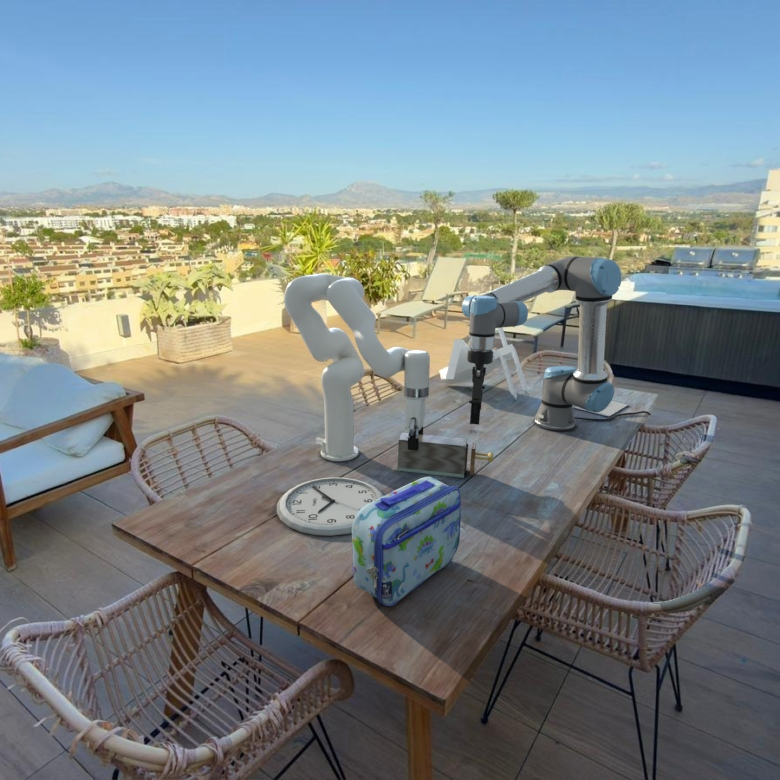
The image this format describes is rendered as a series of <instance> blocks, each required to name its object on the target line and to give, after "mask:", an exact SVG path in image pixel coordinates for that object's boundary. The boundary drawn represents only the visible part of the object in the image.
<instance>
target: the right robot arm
mask: <svg viewBox="0 0 780 780" xmlns="http://www.w3.org/2000/svg"><path fill="white" fill-rule="evenodd" d="M621 284H622V271H621V268H620V266H619V264H618V263H617V262H616V261H615V260H613V259H610V258H604V257H596V256H595V257H592V256H578V255H577V256H576V255H573V256H568V257H564V258H561V259H557V260H555V261H552V262H550V263H547V264H545V265H543V266H540V267H539V269H538V270H537V271H536V272H533V273H531V274H529V275H526V276H524V277H521V278H519V279H517V280H515V281H512V282H509V283H508V284H505V285H503V286H501V287H498V288H496V289H493V290H491V291H489V292H486V293H483V294H481V295H476V294H474V295H473V294H471V295H467V296H466V297H465V298H464V299H463V301H462V304H461V313H462V314H463V316H464V317H465V318H468V319H469V329H468V330H469V331H468V337H466V341H468V343H467V345H468V347H469V348H470V349H469V350H468V355H467V360H468V362H470V363H474V364H476V365H475V367H473V369H472V375H473V377H472V382H471V383H472V392H471V393H472V395H471V399H470V400H469V402H468V404H470V417H469V424H470V425H477V426H478V425H480V419H481V418H480V417H481V410H482V403H483V402H482V401H483V390H485V385H484V383H485V377H486V376H485V372H486V367H484V364H490V363H492V361H493V350H494V349H495V337H496V329H498V328H502V327H503V328H511V327H512V328H515V327H519V326H522V325H524V324H525V323H526V322H527V320H528V318H529V317H528V315H529V310H528V307H527V305H526V304H525V303H524V302H526V301H529V300H532V299H533V298H535V297H538V296H540V295H542V294H545V293H549V294H552V293H554V292H557V291H570V292H575V301H576V302H577V303H578V304H579V319H578V320H579V321H578V323H579V324H578V345H577V346H578V348H577V349H578V351H577V353H578V354H577V367H575V366H569V365H568V366H567V365H557V366H550V367H547V368H546V369H545V371H544V375H543V378H542V379H543V381H542V392H541V402H540V405H539V407H538V410H537V411H536V413H535V416H534V424H535V425H536V426H537V427H539V428H542V429H544V430H549V431H556V432H567V431H572V430H574V429H575V428H576V420H583V421H592V422H593V421H594V422H606V421H612V420H614V419H616V418H617V417H621V416H629V415H639V414H648V416H652V414H651V413H650V412H649V411H646V410H640V411H634V412H624V413H619V414H616V415H614V416H612V417H608V418H589V417H580V416H579V417H577V416H575V413H574V407H576V406H577V407H579V408H582V409H585V410H586V411H585V412H588V411H592V412H601V411H603V410H604V409H605V408H606V407H607V406H608V405H609V404H610V402H611V401H613V398H614V396H615V387H614V385H613V383H611V382H610V381H608V377H609V375H608V372H606V370H604V365H605V350H606V349H605V348H606V331H607V330H606V329H607V328H606V326H607V312H608V311H607V310H608V304H609V302H610V301H612V300H613V296H614V295H615V294H617V292H618V291H619V290H620V288H619V287H621ZM484 376H485V377H484ZM573 406H574V407H573ZM592 412H591V413H592Z"/></svg>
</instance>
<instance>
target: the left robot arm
mask: <svg viewBox="0 0 780 780" xmlns="http://www.w3.org/2000/svg"><path fill="white" fill-rule="evenodd" d="M364 297H365V288H364V286H363V284H362V282H360V281H359V280H358V279H356V278H353V277H347V276H340V275H335V274H334V275H333V274H328V273H315V274H307V275H302V276H297V277H295V278H294V279H292V280H291V281H290V282H289V283H288V284H287V286H286V288H285V290H284V295H283V303H284V307H285V310H286V312H287V313H288V316H289V317H290V319H291V320H292V322H293V324H294V325H295V328H296V329H297V330H298V332H299V335H300V336H301V338H302V340H303V342H304V344H305V346H306V348H307V349H308V351H309V353H310V355H311V357H312V358H313V359H314V360H315V361H317V362H320V363H321V362H322V363H323V362H327V361H330V360H332V363H329V365H327V366H326V367H325V368H324V369H323V371H322V373H321V375H320V384H321V389H322V394H323V395H322V396H323V406H324V408H323V409H324V410H323V411H324V412H323V413H324V438H321V437H316V438H315V446H316V447H321V450H320V456H321V457H322V458H323V459H324V460H326V461H330V462H347V461H351V460H353V459H356V457H358V456H359V448H358V447H357V446H355V433H354V432H355V408H354V398H353V394H352V390H351V388H352V387H353V386H354V385H356V384H358V383H359V382H360V381H362V379H363V378H364V377H365V365H364V363H363V361H362V359H363V360H364V361H365V362H366V364H367V365H368V367H370V369H371V370H372V371H373V372H374V373H375V375H378V376H379V377H381V378H386V379H387V378H391V377H393V376H395V375H397V374H399V373H400V372H404V375H403V382H404V383H403V395H404V396H403V397H404V398H405V399H406V400H405V401H406V402H405V418H404V429H405V430H406V431H407V430H408V433H409V434H408V450H416V451H417V450H418V447H419V438H418V434H421V435H424V423H425V416H426V399H428V398H429V397H430V370H431V369H430V367H431V366H430V364H431V358H430V357H431V356H430V353H429V352H427V351H426V350H422V349H421V350H420V349H409V348H405V347H400V346H393V347H391V348H388V349H386V348H385V347H384V345H383V344H382V343H381V341H380V339H379V337H378V336H377V333H376V321H377V320H376V319H377V318H376V314H375V313H374V311H372V309H371V308H370V307H369V306H368V305H367V303H366V302H365V300H364ZM320 301H328V303H329V304H330V305H331V307H332V308H333V309H334V310H335V312H336V313H337V314H338V316H339V317H340V318H341V319H342V321H343V322H344V323H345V324H346V325H347V327H348V328H349V330H350V331H351V332H352V334H353V337H354V340H355V344H356V347H357V349H358V350H357V349H356V348H355V346H354V344H353V341H352V340H351V339H350V336H349V335H348V334H347V333H346V332H345V331H344V330H342V329H341V328H338V327H330V328H328V326H327V324H326V322H325V321H324V319H323V317H322V315H321V314H320V313H319V312H318V310H317V309H315V307H314V306H313V305H312V304H313V303H317V302H320ZM358 351H359V353H358ZM359 354H360V355H359ZM360 356H361V357H360ZM361 358H362V359H361Z"/></svg>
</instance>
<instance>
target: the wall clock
mask: <svg viewBox="0 0 780 780" xmlns="http://www.w3.org/2000/svg"><path fill="white" fill-rule="evenodd" d="M383 496H385V494H384V493H383V492H382V491H381V490H380V489H379V488H377V487H376V486H374V485H372V484H371V483H369V482H365V481H362V480H359V479H355V478H349V477H338V476H337V477H335V476H333V477H332V476H331V477H322V478H317V479H312V480H307V481H305V482H302V483H299V484H297V485H295V486H293V487H292V488H290V489H288V490H287V491H286V492H285V493H284V494H283V495H281V496H280V498H279V499H278V502H277V503H276V515H277V517H278V518H279V520H280V521H281V522H282V523H283V524H285V525H286V526H287V527H288V528H290V529H293V530H295V531H297V532H299V533H303V534H308V535H312V536H327V537H328V536H329V537H331V536H332V537H333V536H342V535H350V534H352V526H353V521H354V518H355V516H356V515H357V513H358V512H359V510H360V509H361V508H362V507H364V506H365V505H367V504H369V503H371V502H373V501H375V500H377V499H379V498H381V497H383Z"/></svg>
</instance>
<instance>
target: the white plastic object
mask: <svg viewBox="0 0 780 780" xmlns="http://www.w3.org/2000/svg"><path fill="white" fill-rule="evenodd" d="M497 332H498V335H499V338H500V342H501V345H502V347H500V348H498V349H496V350H495V349H492V350H493V361H492V363H490V364H484V367H486V372H485V376H484V378H485V377H486V376H487V375H489V374H490V373H492V372H494V371H495V370H496V369H497V368H499V367H500V366H502V370H503V373H504V376H505V380H506V383H507V386H508V390H509V393H510V394H511V395H512V397H513V398H514V399H515V400H517V392H516V391H517V390H516V388H515V385H514V381H513V378H512V375H511V371H510V369H509V365H508V361H510V360H513V363H514V366H515V369H516V372H517V376H518V380H519V382H520V385H521V389H522V391H523V393H524V395H525V396H526V397H528V396H531V395H530V390H529V388H528V387H529V386H528V384H527V381H526V378H525V375H524V371H523V369H522V368H523V367H522V366H521V362H520V359H519V355H518V352H517V349H516V347H515V346H514V345H513V343H511V344H508V341H507V337H506V334H505V331H504V327H502V328H497ZM469 349H470V348H469V347H468V343H466V342H465V340H464V339H463V338H460V339H458V338H454V340H453V344H452V349H451V353H450V357H449V362H448V366H446V367H444V368H442V369H440V370H439V371H438V372H439V376H440V381H442V383H443V384H444V385H445V386H449V385H458V384H467V383H468V384H469V383H473V382H472V377H473V375H472V369H473V367H475V365H476V364H474V363H470V362H468V360H467V355H468V350H469Z"/></svg>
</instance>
